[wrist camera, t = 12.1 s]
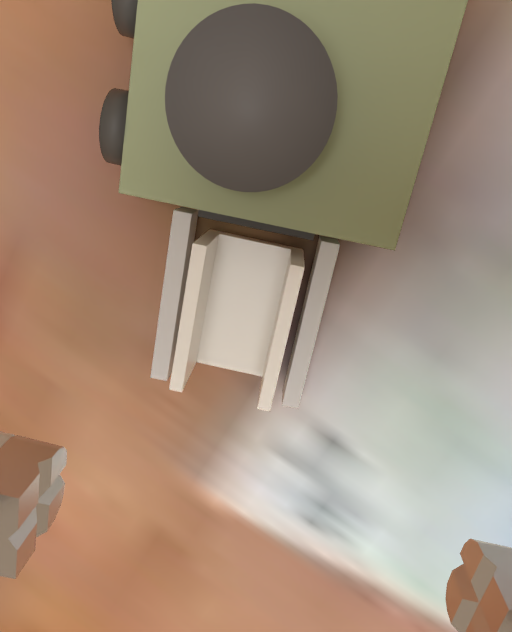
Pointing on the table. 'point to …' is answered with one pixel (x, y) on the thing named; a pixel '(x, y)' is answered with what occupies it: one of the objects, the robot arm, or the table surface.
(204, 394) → the table surface
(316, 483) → the table surface
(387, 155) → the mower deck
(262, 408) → the chute
